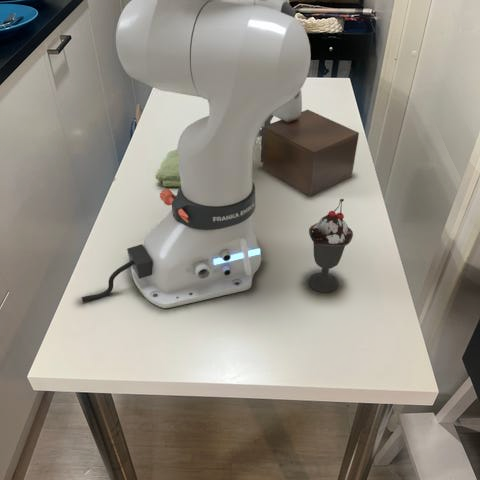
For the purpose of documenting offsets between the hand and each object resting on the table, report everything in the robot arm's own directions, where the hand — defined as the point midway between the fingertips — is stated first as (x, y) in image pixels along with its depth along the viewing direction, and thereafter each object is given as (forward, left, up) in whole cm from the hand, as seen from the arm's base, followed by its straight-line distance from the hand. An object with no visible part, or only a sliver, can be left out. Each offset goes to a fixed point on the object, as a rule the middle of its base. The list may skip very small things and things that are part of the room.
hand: (263, 127), depth 111 cm
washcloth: (-17, -3, -5) cm, 18 cm away
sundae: (-15, -45, -5) cm, 48 cm away
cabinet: (+3, -14, -5) cm, 15 cm away
